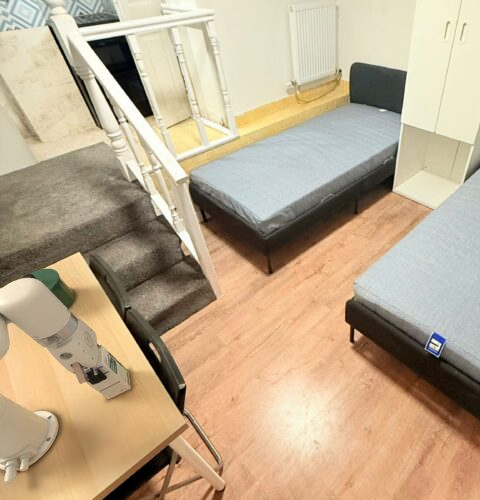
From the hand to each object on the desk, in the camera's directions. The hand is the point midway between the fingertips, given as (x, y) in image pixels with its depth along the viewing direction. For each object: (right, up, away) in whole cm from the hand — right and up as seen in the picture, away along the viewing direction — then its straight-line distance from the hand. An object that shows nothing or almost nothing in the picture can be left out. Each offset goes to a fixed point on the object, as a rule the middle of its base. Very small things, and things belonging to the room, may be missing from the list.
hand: (99, 367), depth 81 cm
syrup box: (0, -7, +7) cm, 10 cm away
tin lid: (-32, +18, +20) cm, 42 cm away
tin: (-32, +11, +27) cm, 43 cm away
